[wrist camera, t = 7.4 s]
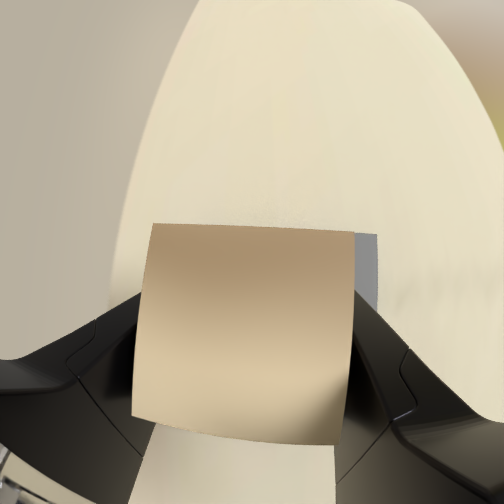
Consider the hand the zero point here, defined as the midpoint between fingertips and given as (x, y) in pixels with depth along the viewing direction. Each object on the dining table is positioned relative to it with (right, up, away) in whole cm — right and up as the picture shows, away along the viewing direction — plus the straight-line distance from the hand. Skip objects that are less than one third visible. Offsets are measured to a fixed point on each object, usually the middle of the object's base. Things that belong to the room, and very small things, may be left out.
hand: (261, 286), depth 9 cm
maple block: (+1, -3, +6) cm, 7 cm away
